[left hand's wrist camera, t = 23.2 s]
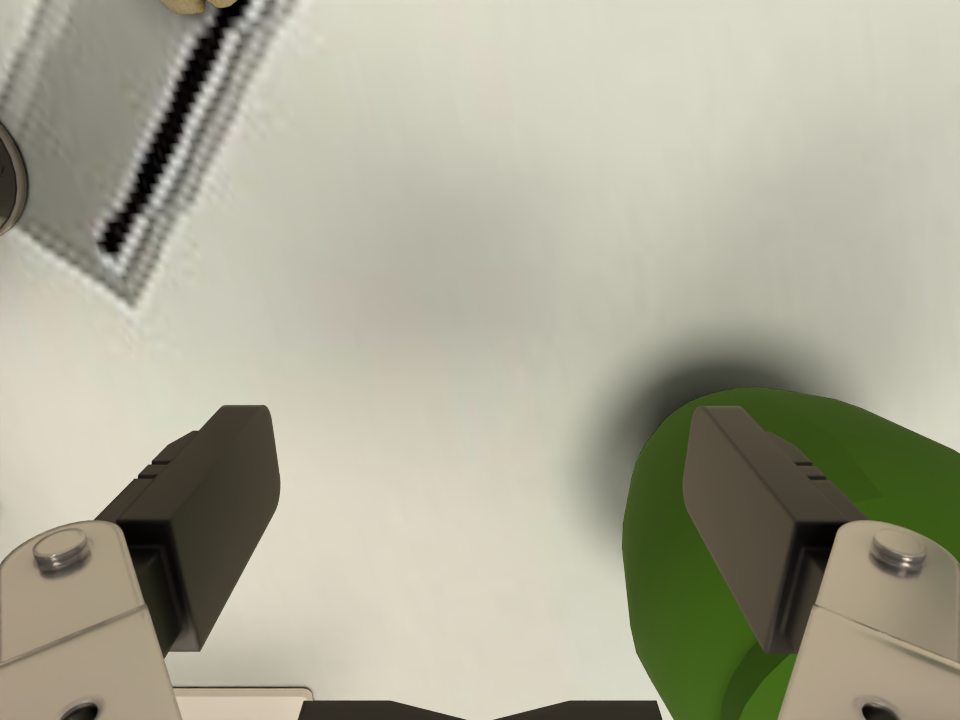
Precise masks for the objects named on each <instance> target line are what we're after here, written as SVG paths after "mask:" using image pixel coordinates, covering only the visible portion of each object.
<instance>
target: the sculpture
mask: <svg viewBox="0 0 960 720" xmlns="http://www.w3.org/2000/svg"><path fill="white" fill-rule="evenodd" d="M160 1H161V2H162V3H163V4H164V5H165V6H166V7H167V8H168V9H169V10H171V11H172V12H174V13H176V14H181V15H185V14H195V13H202V12H204V9H205V0H160ZM207 1H209V2H210V3H211V4H213V5H214V6H215V7H217V8H224V7H229V6H231V5H232V4H233V3H235V2H236V1H237V0H207Z"/></svg>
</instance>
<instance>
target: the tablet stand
mask: <svg viewBox="0 0 960 720" xmlns="http://www.w3.org/2000/svg"><path fill="white" fill-rule="evenodd" d="M173 691H174V694H175V697H176V700H177V703H178V707H179V710H180V713H181V716H182V720H298V717H299V714H300V710H301V707H302V704H303V701H313V697H312V693H311V692H310V691H309V690H307V689H304V688H173Z"/></svg>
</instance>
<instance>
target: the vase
mask: <svg viewBox="0 0 960 720" xmlns="http://www.w3.org/2000/svg"><path fill="white" fill-rule="evenodd" d="M698 406H740V407H742V408H743V409H744V410H745V411H746V412H747V413H748V414H749V415H750V416H751V417H752V418H753V420H754V421H755V422H756V423H757V424H758V425H759V426H760V427H761V428H762V429H763V430H764V431H765V432H772V433H774V434H775V435H777V436H779V437H781V438H783V439H784V440H786V441H788V442H790V443H791V444H793V445H795V446H796V447H797V448H798V449H799V450H800V451H801V452H802V453H803V454H804V455H805V456H806V457H807V458H808V459H809V460H810V461H811V462H812V465H813V466H816V467H817V468H818V469H819V470H820V471H821V472H822V473H823V474H824V475H825V476H826V479H827V480H830V481H831V482H832V483H833V484H834V485H835V486H836V487H837V488H838V489H839V490H840V491H841V492H842V493H843V494H844V495H845V496H846V497H847V498H848V499H849V500H850V501H851V502H852V503H853V504H854V505H855V506H856V507H857V508H858V509H859V510H860V511H861V512H862V513H863V514H864V515H865V516H866V517H867V518H868V519H869V520H871V521H880V522H885V523H890V524H894V525H897V526H901V527H904V528H907V529H909V530H912V531H914V532H917V533H919V534H921V535H923V536H925V537H927V538H929V539H931V540H933V541H934V542H936V543H937V544H939V545H940V546H942V547H943V548H944V549H946V550H947V551H948V552H949V553H950V554H951V555H953V556H954V557H955V559H956V560H957V561H958V562H959V564H960V453H958V452H956V451H955V450H953V449H951V448H949V447H946V446H944V445H942V444H940V443H938V442H935V441H933V440H931V439H929V438H926V437H924V436H922V435H920V434H918V433H915V432H913V431H911V430H909V429H907V428H904V427H902V426H900V425H898V424H895V423H893V422H891V421H889V420H887V419H884V418H882V417H880V416H878V415H876V414H873V413H871V412H869V411H867V410H864V409H862V408H860V407H857V406H854V405H851V404H848V403H845V402H842V401H839V400H836V399H831V398H825V397H820V396H814V395H808V394H802V393H797V392H791V391H785V390H779V389H771V388H763V387H747V388H734V389H730V390H726V391H721V392H717V393H713V394H709V395H705V396H702V397H700V398H697V399H695V400H692V401H690V402H688V403H686V404H685V405H683V406H681V407H680V408H678V409H677V410H675V411H674V412H673V413H672V414H671V415H669V416H668V417H667V418H666V419H665V420H664V421H663V422H662V423H661V425H660V426H659V427H658V428H657V430H656V431H655V432H654V434H653V435H652V436H651V437H650V439H649V440H648V441H647V443H646V444H645V445H644V447H643V449H642V451H641V453H640V455H639V457H638V459H637V461H636V464H635V468H634V471H633V475H632V479H631V484H630V489H629V494H628V500H627V505H626V510H625V515H624V521H623V535H622V551H623V561H624V570H625V580H626V589H627V599H628V608H629V617H630V626H631V631H632V635H633V640H634V644H635V649H636V653H637V655H638V657H639V659H640V661H641V663H642V664H643V666H644V668H645V670H646V672H647V674H648V676H649V678H650V679H651V681H652V683H653V685H654V686H655V688H656V690H657V691H658V693H659V695H660V697H661V698H662V700H663V702H664V703H665V705H666V707H667V709H668V710H669V712H670V714H671V716H672V717H673V719H674V720H778V716H779V713H780V710H781V707H782V703H783V700H784V697H785V694H786V691H787V687H788V684H789V681H790V678H791V674H792V671H793V668H794V665H795V661H796V658H797V654H765V653H764V652H763V650H762V648H761V646H760V644H759V642H758V641H757V639H756V637H755V635H754V633H753V631H752V629H751V628H750V626H749V624H748V622H747V620H746V618H745V617H744V615H743V613H742V611H741V609H740V607H739V606H738V604H737V602H736V600H735V598H734V596H733V594H732V593H731V591H730V589H729V587H728V585H727V583H726V582H725V580H724V578H723V576H722V574H721V572H720V571H719V569H718V567H717V565H716V563H715V561H714V560H713V558H712V556H711V554H710V552H709V550H708V548H707V547H706V545H705V543H704V541H703V539H702V537H701V536H700V534H699V532H698V530H697V528H696V526H695V525H694V523H693V521H692V519H691V517H690V515H689V513H688V511H687V509H686V506H685V502H684V496H683V475H684V468H685V462H686V455H687V448H688V441H689V434H690V428H691V421H692V416H693V413H694V411H695V409H696V408H697V407H698Z"/></svg>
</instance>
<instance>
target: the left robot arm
mask: <svg viewBox="0 0 960 720" xmlns="http://www.w3.org/2000/svg"><path fill="white" fill-rule="evenodd" d="M26 194H27V181H26V174H25V169H24V165H23V162H22V159H21V156H20V154H19V152H18V150H17V147H16V146H15V144H14V142H13V140H12V139H11V137H10V136H9V134H8V133H7V131H6V130H5V129H4V127H3V126H2V125H1V124H0V235H2V234H3V233H5V232H6V231H8V230H9V229H10V228H11V227H12V226H13V225H14V224H15V223H16V221H17V220H18V218H19V217H20V215H21V213H22V211H23V208H24V205H25V201H26ZM279 495H280V474H279V467H278V460H277V453H276V446H275V439H274V432H273V425H272V419H271V414H270V411H269V409H268V408H267V407H266V406H265V405H224V406H222V407H221V408H220V409H219V410H218V411H217V412H216V413H215V414H214V415H213V416H212V417H211V418H210V419H209V420H208V422H207V423H206V424H205V425H204V426H203V427H202V428H201V429H200V430H199V431H192V432H190V433H188V434H187V435H185V436H183V437H181V438H179V439H178V440H176V441H174V442H172V443H170V444H169V445H167V446H166V447H165V448H164V449H163V450H162V451H161V452H160V453H159V455H158V456H157V457H156V458H155V459H154V460H153V461H152V464H151V465H148V466H147V467H146V468H145V469H144V470H143V471H142V472H141V473H140V474H139V475H138V479H134V480H133V481H132V482H131V483H130V484H129V485H128V486H127V487H126V488H125V489H124V490H123V491H122V492H121V493H120V494H119V495H118V496H117V497H116V498H115V499H114V500H113V501H112V502H111V503H110V504H109V505H108V506H107V507H106V508H105V509H104V510H103V511H102V512H101V513H100V514H99V515H98V516H97V517H96V518H95V519H94V520H89V521H80V522H75V523H70V524H66V525H63V526H59V527H56V528H53V529H51V530H48V531H46V532H43V533H41V534H39V535H37V536H35V537H33V538H31V539H29V540H27V541H26V542H24V543H23V544H21V545H20V546H18V547H17V548H16V549H14V550H13V551H12V552H11V553H10V554H9V555H7V556H6V557H5V559H4V560H3V561H2V562H1V564H0V720H182V716H181V713H180V710H179V707H178V703H177V700H176V697H175V694H174V691H173V687H172V684H171V681H170V678H169V674H168V671H167V668H166V665H165V661H164V658H165V657H166V655H167V653H168V652H200V651H201V649H202V647H203V645H204V643H205V641H206V639H207V637H208V636H209V634H210V632H211V630H212V628H213V626H214V624H215V623H216V621H217V619H218V617H219V615H220V613H221V611H222V610H223V608H224V606H225V604H226V602H227V600H228V598H229V596H230V595H231V593H232V591H233V589H234V587H235V585H236V583H237V582H238V580H239V578H240V576H241V574H242V572H243V570H244V569H245V567H246V565H247V563H248V561H249V559H250V557H251V555H252V554H253V552H254V550H255V548H256V546H257V544H258V542H259V541H260V539H261V537H262V535H263V533H264V531H265V529H266V528H267V526H268V524H269V522H270V520H271V518H272V516H273V514H274V513H275V510H276V508H277V505H278V501H279ZM683 496H684V502H685V506H686V509H687V511H688V513H689V515H690V517H691V519H692V521H693V523H694V525H695V526H696V528H697V530H698V532H699V534H700V536H701V537H702V539H703V541H704V543H705V545H706V547H707V548H708V550H709V552H710V554H711V556H712V558H713V560H714V561H715V563H716V565H717V567H718V569H719V571H720V572H721V574H722V576H723V578H724V580H725V582H726V583H727V585H728V587H729V589H730V591H731V593H732V594H733V596H734V598H735V600H736V602H737V604H738V606H739V607H740V609H741V611H742V613H743V615H744V617H745V618H746V620H747V622H748V624H749V626H750V628H751V629H752V631H753V633H754V635H755V637H756V639H757V641H758V642H759V644H760V646H761V648H762V650H763V652H764V653H765V654H797V658H796V661H795V665H794V668H793V671H792V674H791V678H790V681H789V684H788V687H787V691H786V694H785V697H784V700H783V703H782V707H781V710H780V713H779V716H778V720H960V564H959V562H958V561H957V560H956V559H955V557H954V556H953V555H951V554H950V553H949V552H948V551H947V550H946V549H944V548H943V547H942V546H940V545H939V544H937V543H936V542H934V541H933V540H931V539H929V538H927V537H925V536H923V535H921V534H919V533H917V532H914V531H912V530H909V529H907V528H904V527H901V526H897V525H894V524H890V523H885V522H880V521H871V520H869V519H868V518H867V517H866V516H865V515H864V514H863V513H862V512H861V511H860V510H859V509H858V508H857V507H856V506H855V505H854V504H853V503H852V502H851V501H850V500H849V499H848V498H847V497H846V496H845V495H844V494H843V493H842V492H841V491H840V490H839V489H838V488H837V487H836V486H835V485H834V484H833V483H832V482H831V481H830V480H827V479H826V476H825V475H824V474H823V473H822V472H821V471H820V470H819V469H818V468H817V467H816V466H813V465H812V462H811V461H810V460H809V459H808V458H807V457H806V456H805V455H804V454H803V453H802V452H801V451H800V450H799V449H798V448H797V447H796V446H795V445H793V444H791V443H790V442H788V441H786V440H784V439H783V438H781V437H779V436H777V435H775V434H774V433H772V432H765V431H764V430H763V429H762V428H761V427H760V426H759V425H758V424H757V423H756V422H755V421H754V420H753V418H752V417H751V416H750V415H749V414H748V413H747V412H746V411H745V410H744V409H743V408H742V407H740V406H698V407H697V408H696V409H695V411H694V413H693V416H692V421H691V428H690V434H689V441H688V448H687V455H686V462H685V468H684V475H683ZM298 720H465V719H461V718H457V717H453V716H449V715H445V714H441V713H437V712H434V711H430V710H426V709H422V708H418V707H414V706H410V705H406V704H402V703H398V702H394V701H303V704H302V707H301V710H300V714H299V717H298ZM495 720H662V717H661V714H660V710H659V707H658V704H657V701H566V702H562V703H558V704H554V705H550V706H546V707H542V708H538V709H534V710H530V711H526V712H523V713H519V714H515V715H511V716H507V717H503V718H499V719H495Z"/></svg>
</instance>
